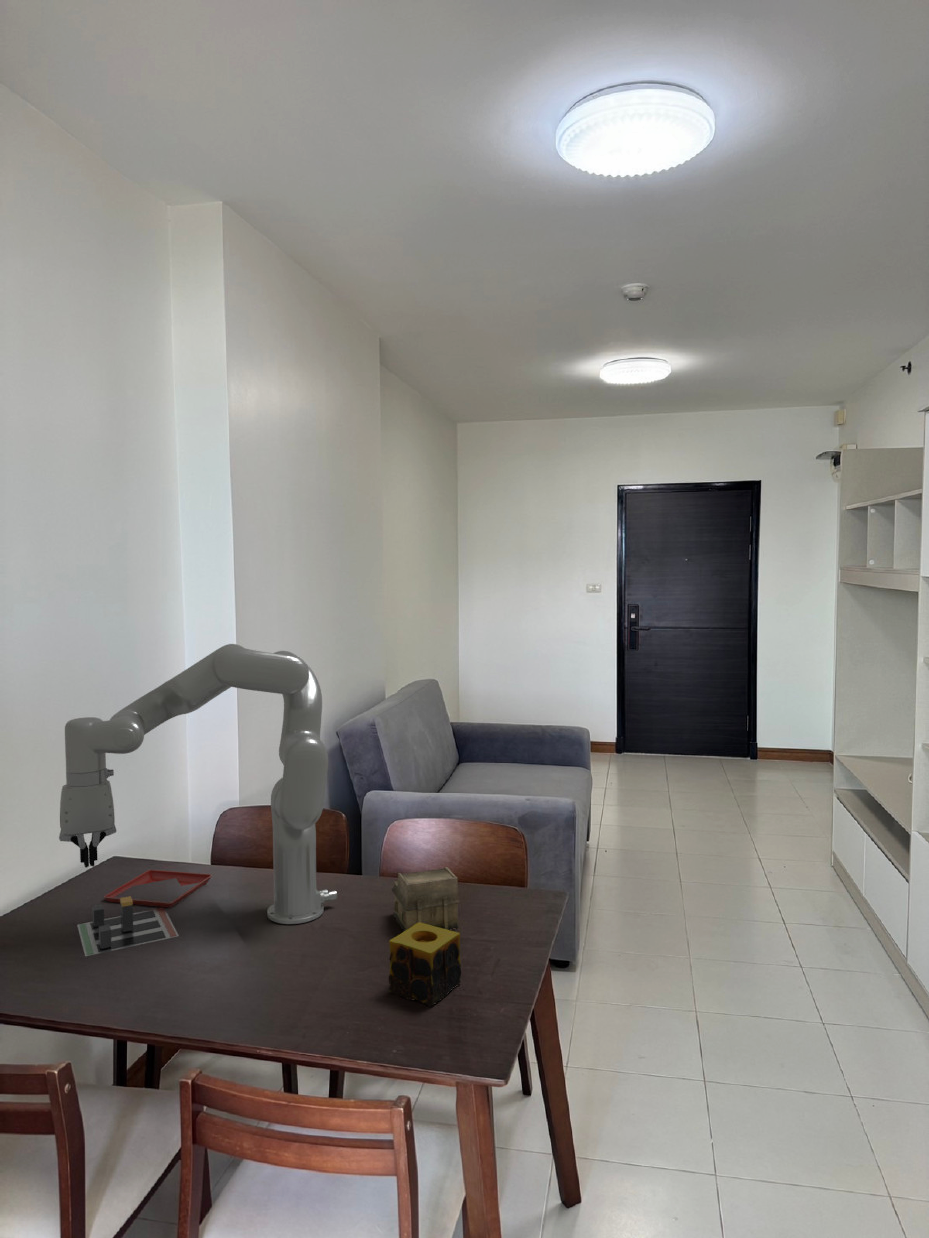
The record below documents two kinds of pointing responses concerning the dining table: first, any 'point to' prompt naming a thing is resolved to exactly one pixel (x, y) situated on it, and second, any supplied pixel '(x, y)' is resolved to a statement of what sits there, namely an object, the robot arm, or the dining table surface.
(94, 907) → the breaker
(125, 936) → the breaker panel
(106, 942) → the breaker
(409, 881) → the miniature house
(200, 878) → the red square tray
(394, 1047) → the dining table surface
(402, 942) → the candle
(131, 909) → the block
